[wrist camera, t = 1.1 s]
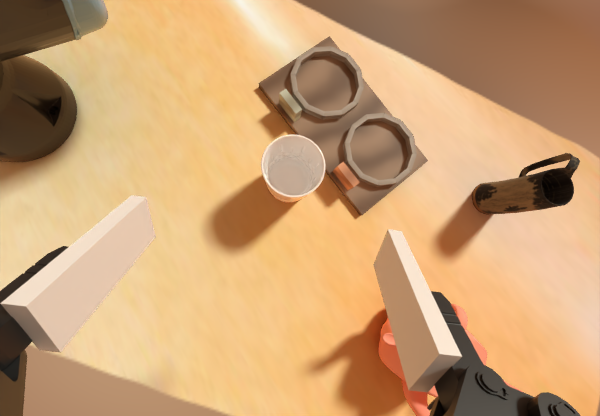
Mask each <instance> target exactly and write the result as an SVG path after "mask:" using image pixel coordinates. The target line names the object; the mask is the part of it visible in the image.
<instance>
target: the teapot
mask: <svg viewBox="0 0 600 416" xmlns="http://www.w3.org/2000/svg"><path fill="white" fill-rule="evenodd" d="M451 305H452V307H453V309H454V311H456V316H458V318H459V320H460V322H461V326H463V328H464V329H465V331H466V333H467V335H468V337H469V339H470V341H471V342H472V344H473V346H474V348H475V350H476V352H477V354H478V355H479V357H480V359H481V361H482V362H483V364H484V365H485V364H486V360H487V352H486V350H485V348H484V347H483V346H482V345H481V343H480V342H479V341H478V340H477V339H476V338H475V337H474V336H473V335H472V334H471V333H470V332H469V331H468V330H466V327H467V323H468V319H467V314H466V312H465V311H464V310H463V309H462V308H461V307H460V306H458V305H455V304H451ZM380 335H381V338H380V342H379V349H378V351H379V356H380V358H381V361H382V362H383V363H384V364H385V365H386V366H387V367H388V368H389V369H390V370H391V371H392V372H393V373H394V374H396V375H397V376H398V377H400V378H401V379H402V385H403V392H404V395H405V398H406V400H407V402H408V404H409V405H410V407H411V408H412V410H413V411H414V413H415V414H416V416H429V415H430V412H429V410H428V409H427V407H428V404H427V394H429V395H432V396H434V397H438V394H437V391H436V388H435V386H433V387H432V389H431V390H430V391H429V392H419V391H410V390H408V387H407V383H406V380H405V376H404V372H403V369H402V365H401V362H400V358H399V354H398V351H397V347H396V344H395V340H394V337H393V333H392V329H391V326H390V322H389V319H388V318H387V320H386V322H385V323H384V324H383V326H382V329H381V333H380ZM485 366H486V365H485ZM503 381H504V380H503ZM504 382H505V381H504ZM505 383H506V384H507V385H508V386H510V387H512V388H514V389H517V388H515V387H514V386H512V385H510V384H508V383H507V382H505ZM517 390H519V389H517ZM519 391H521V390H519ZM521 392H522V391H521ZM523 393H524V392H523Z"/></svg>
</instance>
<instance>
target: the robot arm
mask: <svg viewBox="0 0 600 416" xmlns="http://www.w3.org/2000/svg"><path fill="white" fill-rule="evenodd" d="M107 19H108V13H107V9H106V6H105V3H104V1H103V0H0V160H3V161H9V162H24V161H30V160H34V159H38V158H41V157H43V156H45V155H47V154H49V153H51V152H52V151H54V150H55V149H57V148H58V147H59V146H60V145H61V144H62V143H63V142H64V141H65V140H66V139H67V138H68V136H69V135H70V133H71V131H72V129H73V127H74V124H75V121H76V115H77V106H76V100H75V97H74V94H73V92H72V90H71V89H70V87H69V86H68V84H67V83H66V82H65V81H64V80H63V79H62V78H61V77H60V76H59V75H57V74H56V73H55V72H53V71H52V70H51V69H49V68H48V67H47V66H45V65H43V64H42V63H40V62H38V61H36V60H34V59H32V58H29V57H27V56H24V55H25V54H28V53H32V52H35V51H38V50H42V49H45V48H49V47H52V46H55V45H59V44H62V43H65V42H69V41H72V40H79V39H81V36H83V35H86V34H88V33H91V32H93V31H96V30H98V29H101V28H103V26H104V25H105V24H106V22H107ZM155 237H156V236H155V232H154V227H153V223H152V219H151V215H150V210H149V206H148V202H147V198H146V197H142V196H134V195H131V196H130V197H129V198H128V199H126V200H125V201H124V202H123V203H122V204H120V205H119V206H118V207H117V208H116V209H114V210H113V211H112V212H111V213H109V214H108V215H107V216H106V217H105V218H103V219H102V220H101V221H100V222H99V223H97V224H96V225H95V226H94V227H92V228H91V229H90V230H89V231H88V232H86V233H85V234H84V235H83V236H82V237H80V238H79V239H78V240H77V241H75V242H74V243H73V244H72V245H71V246H69V247H66V246H63V247H60V248H58V249H56V250H54V251H52V252H50V253H48V254H47V255H46V256H44V257H43V258H42V259H41V260H39V261H38V262H37V263H35V266H32V267H30V268H29V269H28V270H27V271H25V273H24V274H21V275H20V276H19V277H18V278H16V279H15V280H14V281H12V282H11V283H10V284H9V285H7V286H6V287H5V288H4V289H2V290H1V291H0V416H23V404H24V391H25V377H26V364H27V354H26V351H25V348H26V347H27V346H28V345H29V344H30V343H31V342H33V343H34V344H35V345H36V347H37V348H38V349H39V350H43V351H52V352H62V350H63V349H64V348H65V347H66V346H67V344H68V343H69V342H70V341H71V340H72V338H73V337H74V336H75V335H76V333H77V332H78V331H79V330H80V329H81V327H82V326H83V325H84V324H85V322H86V321H87V320H88V319H89V318H90V316H91V315H92V314H93V313H94V312H95V310H96V309H97V308H98V307H99V305H100V304H101V303H102V302H103V301H104V299H105V298H106V297H107V296H108V294H109V293H110V292H111V291H112V290H113V288H114V287H115V286H116V285H117V284H118V282H119V281H120V280H121V279H122V277H123V276H124V275H125V274H126V273H127V271H128V270H129V269H130V268H131V266H132V265H133V264H134V263H135V262H136V260H137V259H138V258H139V257H140V256H141V254H142V253H143V252H144V251H145V249H146V248H147V247H148V246H149V245H150V243H151V242H152V241H153V240H154V238H155ZM373 265H374V269H375V272H376V276H377V279H378V283H379V287H380V290H381V294H382V297H383V301H384V304H385V308H386V312H387V315H388V319H389V322H390V326H391V329H392V333H393V337H394V340H395V344H396V347H397V351H398V354H399V358H400V362H401V365H402V369H403V372H404V376H405V380H406V383H407V387H408V390H410V391H419V392H429V391H430V390H431V389H432V387H433V386H435V388H436V391H437V394H438V397H437V398H436V399H434V400H433V401H432V402H431V403H430V404H429V406H428V407H427V409H428V410H431V409H432V410H431V412H430V415H429V416H580V414H579V413H578V412H577V411H576V410H575V409H574V408H573V407H572V406H571V405H570V404H568V403H567V402H566V401H564V400H563V399H561V398H560V397H558V396H556V395H554V394H551V393H548V392H547V393H540V394H539V395H537V396H536V397H533V396H530V395H528V394H526V393H523V392H521V391H519V390H517V389H514V388H512V387H510V386H508V385H507V384H506V383H505V382H504V381H503V379H502V378H501V377H500V376H499V375H498V374H497V373H496V372H495V371H493V370H492V369H491V368H489V367H487V366H485V365H484V364H483V362H482V361H481V359H480V357H479V355H478V354H477V352H476V350H475V348H474V346H473V344H472V342H471V341H470V339H469V337H468V335H467V333H466V331H465V329H464V328H463V326H461V322H460V320H459V318H458V316H456V313H455V311H454V309H453V307H452V305H451V303H450V302H449V301H448V300H447V299H446V298H445V297H444V296H443V295H442V293H441V292H433V291H430V289H429V287H428V285H427V283H426V281H425V279H424V277H423V274H422V272H421V270H420V268H419V266H418V264H417V262H416V260H415V258H414V256H413V254H412V252H411V250H410V248H409V245H408V243H407V241H406V239H405V237H404V235H403V233H402V231H397V230H389V229H388V231H387V233H386V235H385V238H384V240H383V243H382V245H381V248H380V250H379V252H378V255H377V257H376V260H375V262H374V264H373Z"/></svg>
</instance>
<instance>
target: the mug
mask: <svg viewBox="0 0 600 416" xmlns="http://www.w3.org/2000/svg"><path fill="white" fill-rule="evenodd" d="M566 160H570V161H569V163H568V165H567V166H566V167H565V168H557V169H551V170H547V171H544V172H540V173H537V174H533V175H528V176H526V174H527V173H528V172H529V171H532V170H535V169H537V168H540V167H544V166H547V165H551V164H554V163H558V162H562V161H566ZM579 162H580V161H579V159H578V158H576V157H574V156H573V155H571V154H568V153H565V154H562V155H559V156H555V157H552V158H549V159H546V160H543V161H540V162H537V163H534V164H532V165H530V166H527V167H525V168H524V169H523V170H522V171H521V173H520V175H519V178H515V179H510V180H505V181H499V182H490V183H483V184H480V185H478V186H477V187H476V188H475V189H474V191H473V194H472V200H473V204H474V206H475V207H476V208H477V210H478V211H480V212H481V213H484V214H505V213H518V212H526V211H533V210H540V209H547V208H552V207H557V206H562V205H565V204H567V203H568V202H569V201H570V200H571V199H572V197H573V193H574V186H573V182H572V180H571V177H572V175H573V173H574V171H575V170H576V169H577V167H578V165H579Z"/></svg>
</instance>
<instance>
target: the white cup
mask: <svg viewBox="0 0 600 416" xmlns="http://www.w3.org/2000/svg"><path fill="white" fill-rule="evenodd" d="M261 170H262V174H263V177H264V180H265V183H266V185H267V187H268V189H269V191H270V192H271V194H272V195H273V196H274V197H275V198H276V199H278V200H280V201H282V202H295V201H298V200H300V199H302V198H304V197H306V196H307V195H309V194H310V193H312V192H313V191H314V190H315V189H317V187H318V186H319V185H320V184H321V182H322V180H323V178H324V174H325V159H324V156H323V154H322V152H321V150H320V149H319V147H318V146H317V145H316V144H315V143H314V142H313V141H311V140H310V139H308V138H306V137H304V136H300V135H284V136H281V137H279V138H277V139H275V140H274V141H272V142H271V143H270V144H269V145H268V147H267V148H266V149H265V151H264V153H263V156H262V161H261Z"/></svg>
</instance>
